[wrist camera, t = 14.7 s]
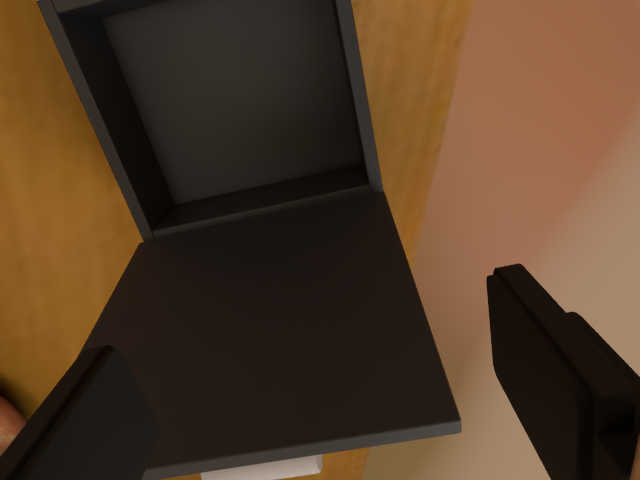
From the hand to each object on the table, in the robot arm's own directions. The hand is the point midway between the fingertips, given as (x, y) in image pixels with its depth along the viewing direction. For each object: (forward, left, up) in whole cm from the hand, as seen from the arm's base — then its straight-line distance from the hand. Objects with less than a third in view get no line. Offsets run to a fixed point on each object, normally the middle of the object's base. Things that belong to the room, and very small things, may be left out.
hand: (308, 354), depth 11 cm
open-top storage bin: (-5, -4, -23) cm, 24 cm away
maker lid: (+3, -4, -9) cm, 10 cm away
